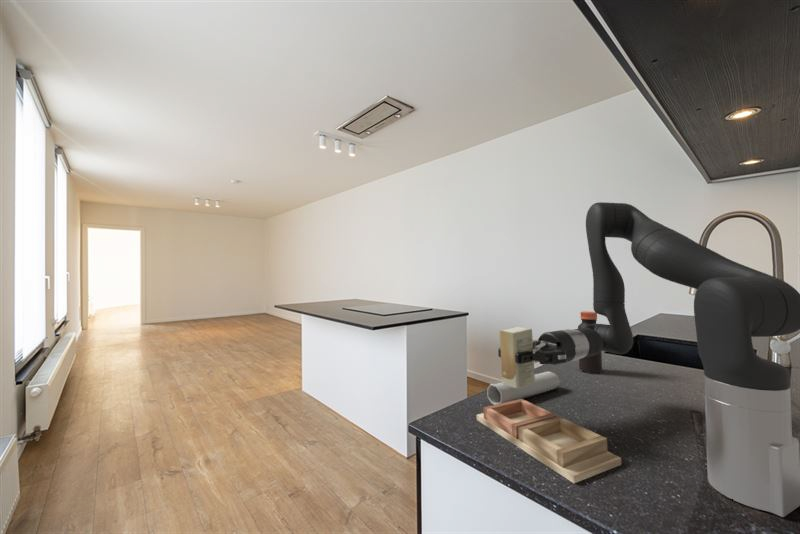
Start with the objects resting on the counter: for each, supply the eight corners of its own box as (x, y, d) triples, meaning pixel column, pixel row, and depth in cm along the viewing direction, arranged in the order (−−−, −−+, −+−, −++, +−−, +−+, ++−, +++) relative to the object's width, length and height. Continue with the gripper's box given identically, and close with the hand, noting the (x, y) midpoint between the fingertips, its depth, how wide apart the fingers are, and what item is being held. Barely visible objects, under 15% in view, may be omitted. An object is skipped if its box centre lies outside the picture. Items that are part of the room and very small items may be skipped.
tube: (545, 381, 101) (484, 397, 89) (550, 366, 100) (489, 380, 87) (560, 392, 97) (499, 410, 84) (566, 376, 95) (504, 393, 83)
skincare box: (519, 378, 77) (517, 325, 77) (535, 383, 74) (533, 328, 74) (500, 383, 74) (498, 329, 74) (516, 389, 70) (514, 332, 70)
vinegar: (583, 366, 117) (581, 310, 118) (605, 370, 112) (603, 312, 113) (576, 371, 113) (574, 312, 113) (598, 375, 108) (595, 314, 108)
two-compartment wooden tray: (621, 464, 59) (620, 443, 59) (574, 483, 54) (573, 460, 54) (516, 410, 83) (515, 395, 83) (476, 419, 78) (476, 404, 78)
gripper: (539, 326, 86) (486, 333, 79) (590, 335, 73) (532, 345, 66) (540, 354, 86) (487, 364, 79) (591, 369, 73) (533, 382, 66)
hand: (508, 355), depth 73 cm, fingers closed on skincare box, 4 cm apart
